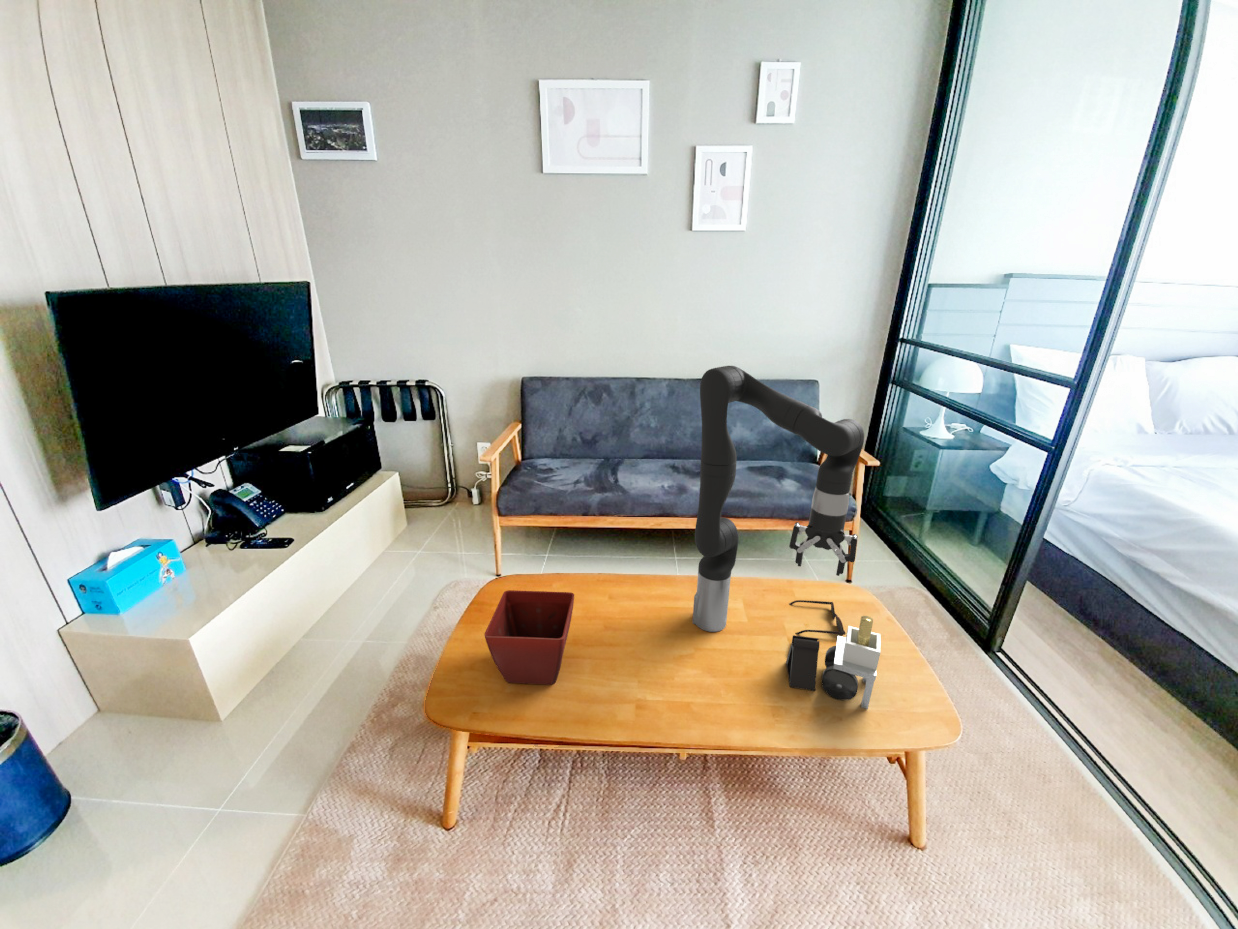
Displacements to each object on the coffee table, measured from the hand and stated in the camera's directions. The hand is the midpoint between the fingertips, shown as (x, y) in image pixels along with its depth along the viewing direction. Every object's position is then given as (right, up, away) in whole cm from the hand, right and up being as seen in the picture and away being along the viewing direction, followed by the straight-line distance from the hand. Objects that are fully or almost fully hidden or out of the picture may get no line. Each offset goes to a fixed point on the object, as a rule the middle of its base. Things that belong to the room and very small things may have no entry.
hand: (818, 569), depth 119 cm
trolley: (+10, -31, +8) cm, 33 cm away
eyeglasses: (+10, -23, +32) cm, 40 cm away
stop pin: (+11, -21, +3) cm, 24 cm away
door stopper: (-1, -30, +11) cm, 32 cm away
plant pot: (-69, -28, +14) cm, 76 cm away
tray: (+11, -22, +3) cm, 25 cm away
